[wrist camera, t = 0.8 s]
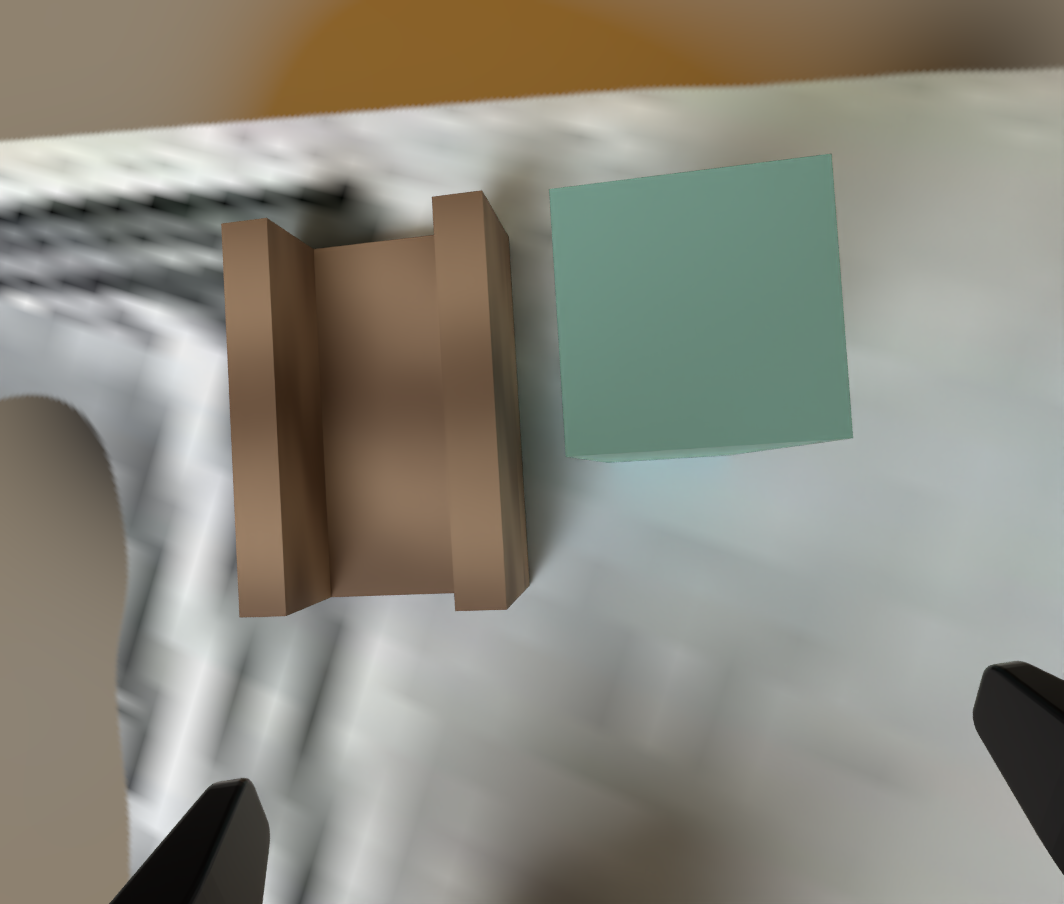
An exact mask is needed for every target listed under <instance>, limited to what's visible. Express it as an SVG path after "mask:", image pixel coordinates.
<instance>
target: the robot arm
mask: <svg viewBox="0 0 1064 904" xmlns="http://www.w3.org/2000/svg"><path fill="white" fill-rule="evenodd" d="M973 721H974V725H975V728H976V730H977V732H978V734H979V736H980V738H981V740H982V741H983V743H984V745H985V746H986V748H987V750H988V752H989V753H990V755H991V757H992V758H993V760H994V762H995V763H996V765H997V767H998V769H999V770H1000V772H1001V774H1002V775H1003V777H1004V779H1005V780H1006V782H1007V784H1008V786H1009V787H1010V789H1011V791H1012V792H1013V794H1014V796H1015V798H1016V799H1017V801H1018V803H1019V804H1020V806H1021V808H1022V809H1023V811H1024V813H1025V815H1026V816H1027V818H1028V820H1029V821H1030V823H1031V825H1032V826H1033V828H1034V830H1035V832H1036V833H1037V835H1038V837H1039V838H1040V840H1041V841H1042V843H1043V845H1044V846H1045V848H1046V849H1047V851H1048V853H1049V854H1050V856H1051V857H1052V859H1053V860H1054V862H1055V863H1056V865H1057V866H1058V867H1059V869H1060V870H1061V872H1062V873H1063V875H1064V680H1062V679H1060V678H1058V677H1056V676H1054V675H1052V674H1050V673H1047V672H1045V671H1043V670H1041V669H1039V668H1037V667H1035V666H1033V665H1031V664H1028V663H1026V662H1022V661H1013V662H1006V663H999V664H993V665H990V666H988V667H987V668H986V669H985V670H984V673H983V675H982V679H981V683H980V686H979V690H978V693H977V697H976V701H975V704H974V708H973ZM269 845H270V829H269V824H268V820H267V818H266V815H265V812H264V810H263V807H262V805H261V802H260V800H259V797H258V794H257V792H256V789H255V787H254V785H253V783H252V782H251V781H250V780H249V779H247V778H240V779H233V780H227V781H220V782H216V783H214V784H212V785H211V786H210V787H208V788H207V789H206V790H205V792H204V793H203V794H202V795H201V796H200V797H199V799H198V800H197V801H196V802H195V803H194V804H193V806H192V807H191V808H190V809H189V810H188V812H187V813H186V814H185V815H184V816H183V817H182V819H181V820H180V821H179V822H178V823H177V824H176V826H175V827H174V828H173V829H172V830H171V832H170V833H169V834H168V835H167V836H166V837H165V839H164V840H163V841H162V842H161V843H160V845H159V846H158V847H157V848H156V849H155V850H154V852H153V853H152V854H151V855H150V856H149V857H148V859H147V860H146V861H145V862H144V863H143V865H142V866H141V867H140V868H139V869H138V870H137V872H136V873H135V874H134V875H133V876H132V878H131V879H130V880H129V881H128V882H127V883H126V885H125V886H124V887H123V888H122V889H121V891H120V892H119V893H118V894H117V895H116V896H115V898H114V899H113V900H112V901H111V902H110V903H109V904H262V903H263V895H264V887H265V878H266V870H267V862H268V854H269Z"/></svg>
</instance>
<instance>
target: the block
mask: <svg viewBox="0 0 1064 904" xmlns="http://www.w3.org/2000/svg"><path fill="white" fill-rule="evenodd" d="M549 196H550V212H551V228H552V244H553V260H554V276H555V292H556V308H557V324H558V340H559V356H560V373H561V389H562V405H563V421H564V437H565V453H566V457H572V458H579V459H586V460H593V461H600V462H607V463H610V462H626V461H642V460H658V459H674V458H690V457H707V456H723V455H734V454H741V453H749V452H756V451H763V450H771V449H778V448H785V447H792V446H800V445H807V444H814V443H821V442H829V441H836V440H843V439H850V438H853V431H852V418H851V405H850V392H849V379H848V365H847V352H846V339H845V326H844V313H843V299H842V286H841V273H840V260H839V247H838V233H837V220H836V207H835V194H834V181H833V168H832V154H825V155H817V156H809V157H801V158H793V159H785V160H777V161H769V162H762V163H754V164H746V165H738V166H730V167H722V168H714V169H706V170H698V171H690V172H682V173H674V174H666V175H658V176H650V177H642V178H634V179H626V180H619V181H611V182H603V183H595V184H587V185H579V186H571V187H563V188H555V189H549Z"/></svg>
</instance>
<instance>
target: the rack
mask: <svg viewBox="0 0 1064 904" xmlns="http://www.w3.org/2000/svg"><path fill="white" fill-rule="evenodd" d="M432 207H433V225H434V235H429V236H421V237H413V238H404V239H396V240H387V241H379V242H370V243H362V244H354V245H345V246H337V247H328V248H320V249H312V248H311V247H309V246H308V245H306V244H305V243H303V242H302V241H300V240H299V239H297V238H296V237H294V236H293V235H291V234H290V233H288V232H287V231H285V230H284V229H282V228H281V227H280V226H278V225H277V224H275V223H274V222H272V221H271V220H269V219H268V218H262V219H255V220H247V221H239V222H231V223H223V224H221V226H222V247H223V269H224V291H225V312H226V334H227V355H228V377H229V399H230V420H231V442H232V464H233V485H234V507H235V528H236V550H237V572H238V593H239V615H240V617H271V616H287V615H290V614H292V613H294V612H297V611H299V610H302V609H304V608H306V607H309V606H311V605H314V604H316V603H318V602H321V601H323V600H326V599H328V598H330V597H350V596H380V595H409V594H439V593H454V597H455V611H475V610H507V609H508V608H509V607H510V606H511V605H512V604H513V602H514V601H515V600H516V599H517V598H518V597H519V596H520V595H521V594H522V593H523V592H524V591H525V590H526V589H527V588H528V587H529V585H530V584H529V568H528V551H527V534H526V518H525V501H524V484H523V468H522V451H521V434H520V418H519V401H518V384H517V368H516V351H515V334H514V318H513V301H512V284H511V268H510V251H509V237H508V235H507V233H506V231H505V230H504V228H503V226H502V224H501V223H500V221H499V219H498V217H497V216H496V214H495V212H494V210H493V209H492V207H491V205H490V203H489V202H488V200H487V198H486V196H485V195H484V193H483V191H474V192H466V193H458V194H450V195H443V196H435V197H432Z"/></svg>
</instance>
